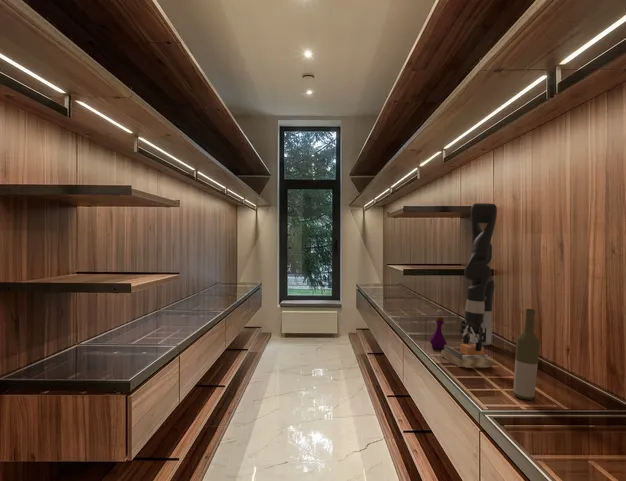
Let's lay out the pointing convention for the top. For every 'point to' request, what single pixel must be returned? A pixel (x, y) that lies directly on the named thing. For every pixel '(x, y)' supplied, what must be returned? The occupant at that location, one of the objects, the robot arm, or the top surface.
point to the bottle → (526, 360)
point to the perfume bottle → (438, 334)
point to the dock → (465, 358)
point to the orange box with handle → (470, 349)
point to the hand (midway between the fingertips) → (471, 348)
